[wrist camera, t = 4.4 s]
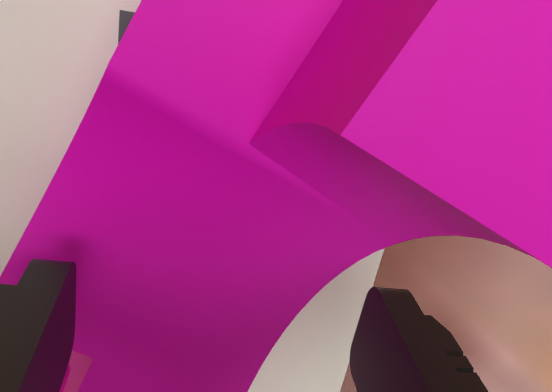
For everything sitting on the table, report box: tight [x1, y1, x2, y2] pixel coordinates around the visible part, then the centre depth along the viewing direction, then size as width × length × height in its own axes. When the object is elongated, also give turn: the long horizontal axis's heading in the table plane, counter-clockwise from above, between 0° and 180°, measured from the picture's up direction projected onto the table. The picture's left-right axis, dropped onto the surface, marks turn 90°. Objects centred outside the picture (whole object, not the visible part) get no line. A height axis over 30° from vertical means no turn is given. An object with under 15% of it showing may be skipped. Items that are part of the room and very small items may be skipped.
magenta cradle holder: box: [0, 0, 552, 392], centre depth 11 cm, size 15×6×8 cm, turn 147°
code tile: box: [0, 0, 384, 392], centre depth 14 cm, size 12×18×1 cm, turn 170°
